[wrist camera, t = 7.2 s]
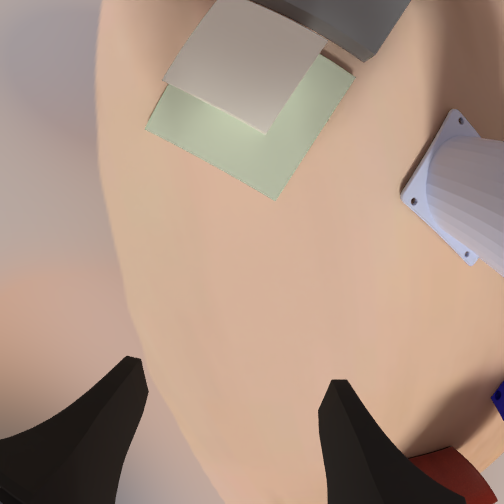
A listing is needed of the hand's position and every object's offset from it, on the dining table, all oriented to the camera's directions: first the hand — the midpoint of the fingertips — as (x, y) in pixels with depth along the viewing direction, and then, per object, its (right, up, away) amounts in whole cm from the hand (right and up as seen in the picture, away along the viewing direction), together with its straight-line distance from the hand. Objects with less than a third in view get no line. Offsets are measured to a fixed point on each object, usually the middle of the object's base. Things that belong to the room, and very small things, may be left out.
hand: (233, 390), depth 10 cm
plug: (+1, +14, +4) cm, 15 cm away
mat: (0, +14, +5) cm, 15 cm away
